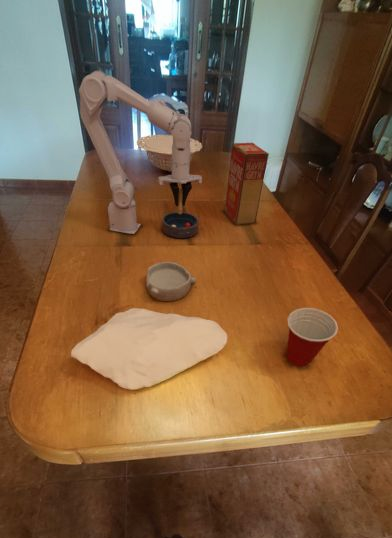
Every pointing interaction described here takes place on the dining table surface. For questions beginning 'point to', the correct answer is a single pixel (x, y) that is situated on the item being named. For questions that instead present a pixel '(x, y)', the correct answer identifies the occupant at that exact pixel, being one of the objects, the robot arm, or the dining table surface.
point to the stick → (180, 202)
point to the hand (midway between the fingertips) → (179, 205)
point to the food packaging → (245, 182)
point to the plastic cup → (308, 334)
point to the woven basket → (163, 149)
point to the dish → (168, 281)
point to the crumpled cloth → (148, 346)
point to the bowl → (180, 225)
